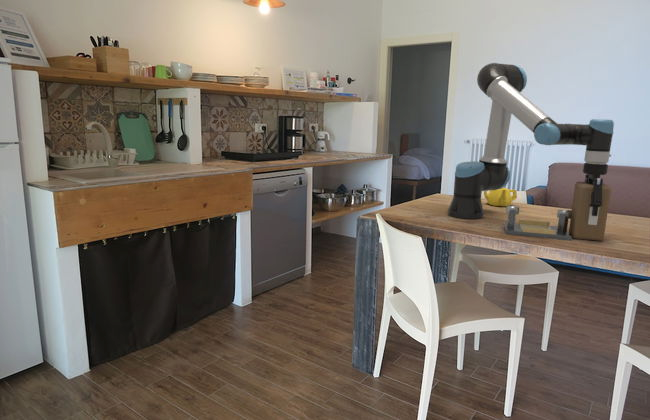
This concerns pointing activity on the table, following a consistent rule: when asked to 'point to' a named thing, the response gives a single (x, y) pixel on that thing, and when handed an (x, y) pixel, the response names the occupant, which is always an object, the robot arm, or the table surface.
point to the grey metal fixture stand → (538, 225)
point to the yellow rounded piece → (500, 197)
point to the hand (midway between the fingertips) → (587, 220)
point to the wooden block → (581, 213)
